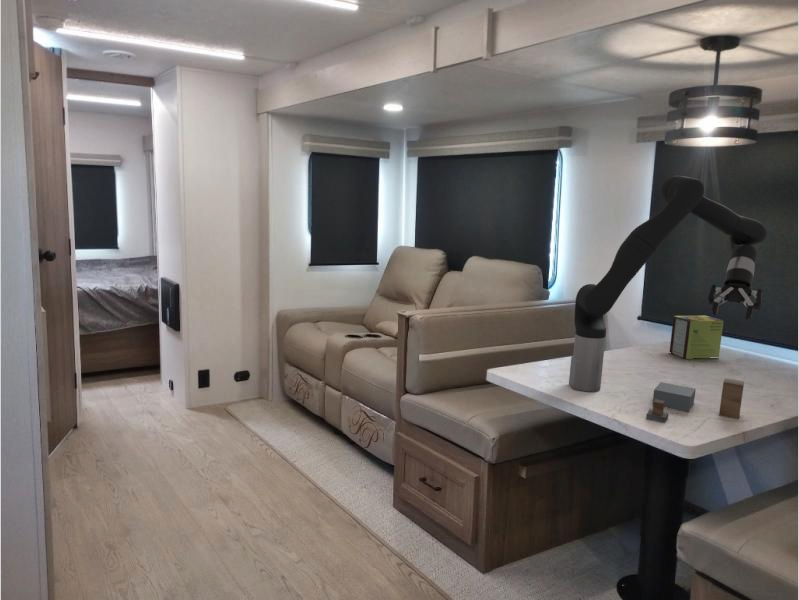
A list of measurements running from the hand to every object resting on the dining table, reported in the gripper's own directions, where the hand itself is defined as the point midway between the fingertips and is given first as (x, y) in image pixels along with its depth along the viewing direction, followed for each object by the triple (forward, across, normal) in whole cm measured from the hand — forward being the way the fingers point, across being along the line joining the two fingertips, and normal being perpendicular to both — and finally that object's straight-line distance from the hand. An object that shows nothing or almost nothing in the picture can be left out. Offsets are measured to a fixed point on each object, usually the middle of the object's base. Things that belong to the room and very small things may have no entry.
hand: (730, 316), depth 186 cm
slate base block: (+28, -11, +9) cm, 32 cm away
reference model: (+40, -12, -4) cm, 42 cm away
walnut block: (+28, +4, +9) cm, 30 cm away
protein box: (-21, -17, +61) cm, 67 cm away
